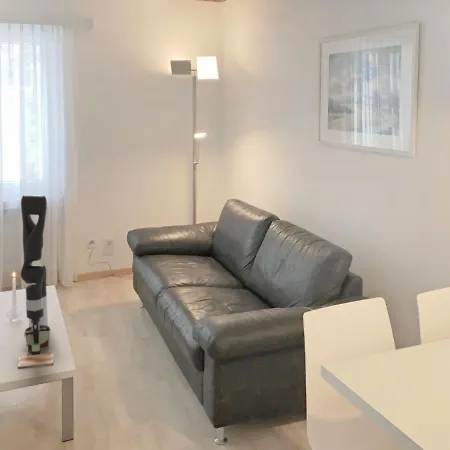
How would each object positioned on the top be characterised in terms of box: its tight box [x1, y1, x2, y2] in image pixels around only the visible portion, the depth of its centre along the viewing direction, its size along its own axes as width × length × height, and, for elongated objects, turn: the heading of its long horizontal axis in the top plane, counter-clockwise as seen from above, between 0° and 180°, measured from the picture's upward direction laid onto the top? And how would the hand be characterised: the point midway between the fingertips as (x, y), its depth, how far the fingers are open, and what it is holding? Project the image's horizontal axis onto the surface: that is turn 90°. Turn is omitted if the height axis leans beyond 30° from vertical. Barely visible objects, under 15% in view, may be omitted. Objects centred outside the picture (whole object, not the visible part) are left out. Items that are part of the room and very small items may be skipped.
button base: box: [30, 349, 42, 355], centre depth 268 cm, size 4×4×1 cm
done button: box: [32, 344, 40, 351], centre depth 267 cm, size 3×3×2 cm
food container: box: [23, 325, 52, 353], centre depth 273 cm, size 12×6×10 cm, turn 126°
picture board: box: [17, 352, 54, 370], centre depth 261 cm, size 11×15×1 cm
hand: (36, 339), depth 273 cm, fingers closed on food container, 7 cm apart
